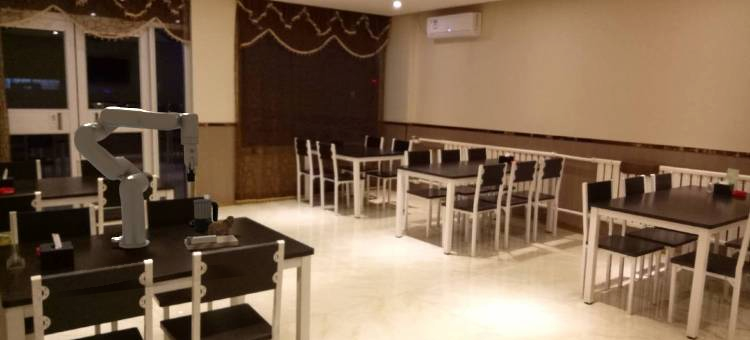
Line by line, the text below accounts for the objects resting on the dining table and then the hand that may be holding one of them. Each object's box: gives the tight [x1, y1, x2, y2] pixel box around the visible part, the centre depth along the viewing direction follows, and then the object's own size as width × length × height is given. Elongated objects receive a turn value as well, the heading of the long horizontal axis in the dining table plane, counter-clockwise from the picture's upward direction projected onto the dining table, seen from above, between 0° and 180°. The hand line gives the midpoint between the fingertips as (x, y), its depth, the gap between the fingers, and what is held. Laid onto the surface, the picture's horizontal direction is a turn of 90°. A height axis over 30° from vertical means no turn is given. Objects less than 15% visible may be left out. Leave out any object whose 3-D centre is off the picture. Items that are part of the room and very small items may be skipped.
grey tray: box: [184, 234, 239, 251], centre depth 259 cm, size 22×12×4 cm, turn 116°
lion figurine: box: [205, 215, 235, 236], centre depth 276 cm, size 15×5×9 cm, turn 130°
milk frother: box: [188, 198, 219, 232], centre depth 291 cm, size 14×16×15 cm
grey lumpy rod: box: [186, 234, 217, 244], centre depth 254 cm, size 13×3×3 cm, turn 117°
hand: (190, 181), depth 255 cm, fingers closed
